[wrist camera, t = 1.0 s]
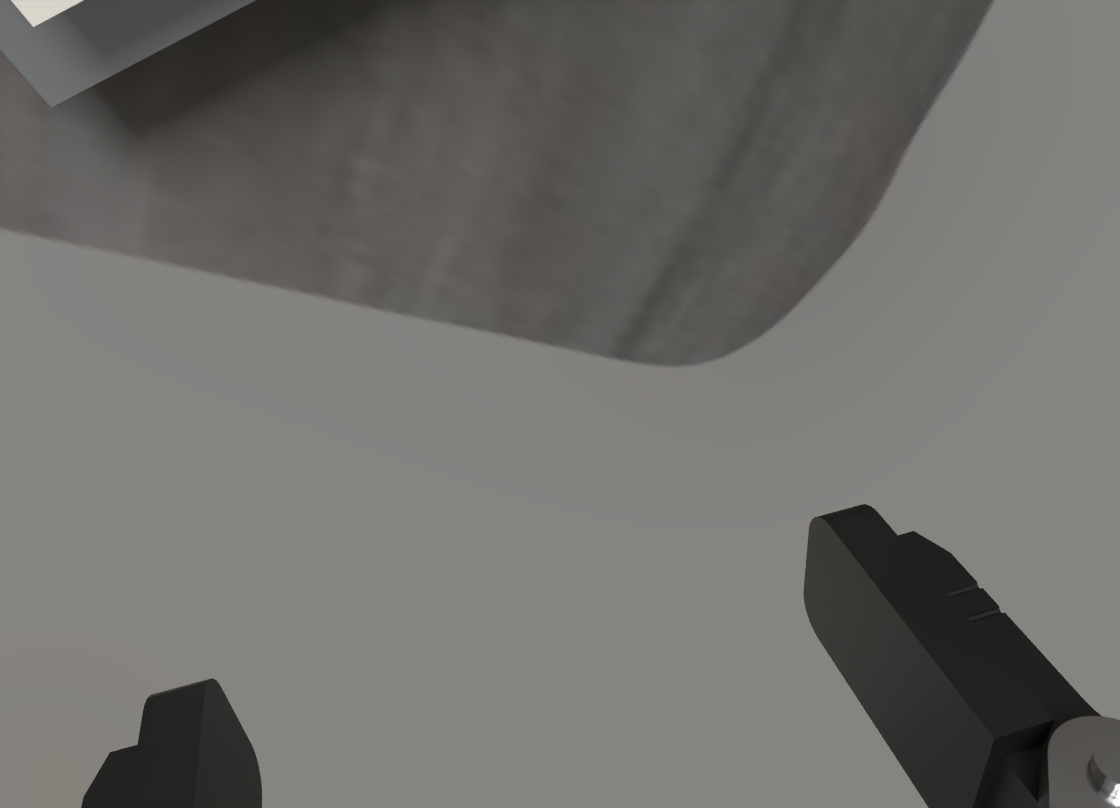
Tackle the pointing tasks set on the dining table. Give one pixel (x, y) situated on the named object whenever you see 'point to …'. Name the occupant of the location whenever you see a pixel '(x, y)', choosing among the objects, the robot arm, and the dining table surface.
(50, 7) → the key cream
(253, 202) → the dining table surface
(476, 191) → the dining table surface
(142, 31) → the keypad board
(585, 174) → the dining table surface
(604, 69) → the dining table surface
